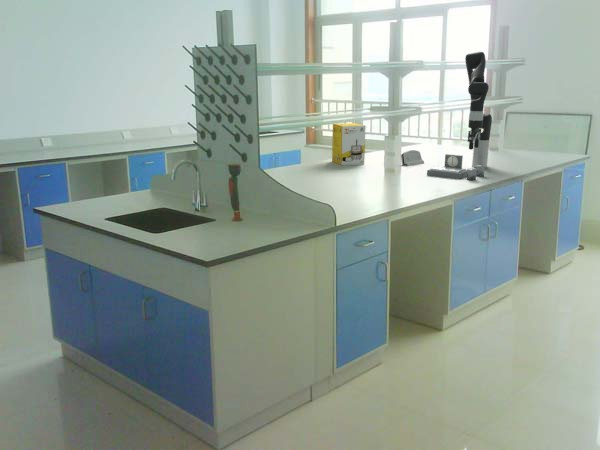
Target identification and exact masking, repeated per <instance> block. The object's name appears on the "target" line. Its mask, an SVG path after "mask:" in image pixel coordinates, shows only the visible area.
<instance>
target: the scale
mask: <svg viewBox="0 0 600 450" xmlns="http://www.w3.org/2000/svg"><path fill="white" fill-rule="evenodd" d="M463 159H464V158H463V155H459V154H449V153H447V154H445V156H444V166H442V165H436V166H434V167H430V169H427V170H426V176H429V177H437V178H438V177H440V178H446V179H447V178H448V179H455V180H456V179H457V180H460V179H464V178H465V177H466V178H467V168H463Z"/></svg>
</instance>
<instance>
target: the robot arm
mask: <svg viewBox="0 0 600 450" xmlns="http://www.w3.org/2000/svg"><path fill="white" fill-rule="evenodd" d="M464 60H465V67H466V73H467V77H468V84H469V85H468V88H467V92H468V94H469V95H470V107H469V108H470V109H469V114H468V115H469V116H468V125H467V126H468V127H467V128H468V129H470V130H468V136H467V142H468V149H469V150H471V151H473V152H472V159H471V160H472V162H471V163H472V164H471V166H472V167H474V168H476V165H483V166H485V168H487V167H488V161H489V160H488V158H489V148H490V147H489V146H490V136H491V131H492V130H491V129H492V122H493V118H492V115H491V114H490V113H484V104H485V100H486V98H487V94H488V92H489V89H490V88H489V84H488V83H487V82H485V71H486V70H485V69H486V54H485V53H484V52H483V51H477V52H476V51H475V52H471V53H467V54H466V55H465V58H464ZM482 129H483V131H482Z"/></svg>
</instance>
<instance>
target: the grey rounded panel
mask: <svg viewBox="0 0 600 450" xmlns="http://www.w3.org/2000/svg"><path fill="white" fill-rule="evenodd" d="M400 160H401V165H402V166H404V165H406V166H407V167H410V166H416V165H423V164H425V161H424V160H423V157H422V153H421V152H420V151H419V150H415V149H413V150H407V151H405V152H403V153H402V154H400Z"/></svg>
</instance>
